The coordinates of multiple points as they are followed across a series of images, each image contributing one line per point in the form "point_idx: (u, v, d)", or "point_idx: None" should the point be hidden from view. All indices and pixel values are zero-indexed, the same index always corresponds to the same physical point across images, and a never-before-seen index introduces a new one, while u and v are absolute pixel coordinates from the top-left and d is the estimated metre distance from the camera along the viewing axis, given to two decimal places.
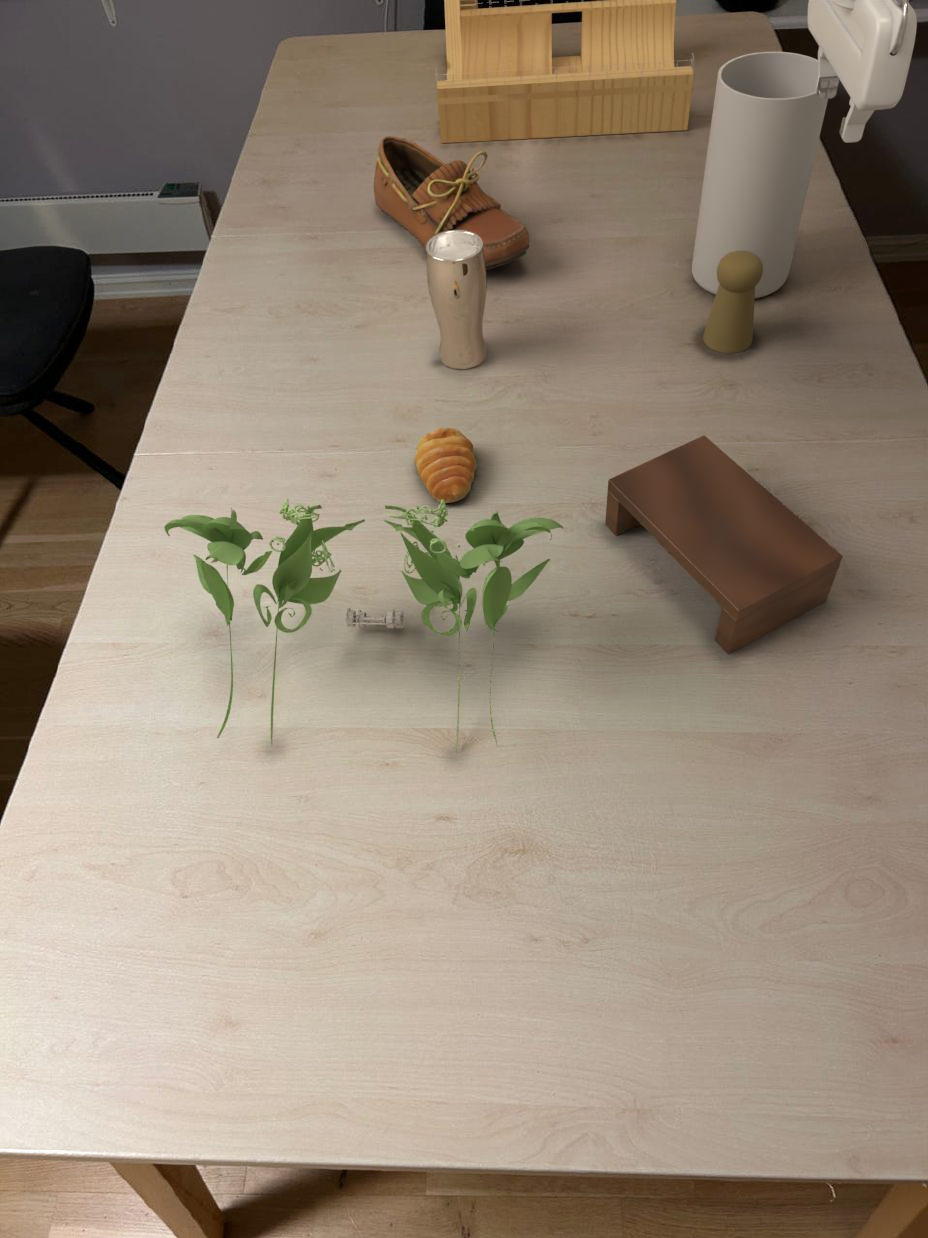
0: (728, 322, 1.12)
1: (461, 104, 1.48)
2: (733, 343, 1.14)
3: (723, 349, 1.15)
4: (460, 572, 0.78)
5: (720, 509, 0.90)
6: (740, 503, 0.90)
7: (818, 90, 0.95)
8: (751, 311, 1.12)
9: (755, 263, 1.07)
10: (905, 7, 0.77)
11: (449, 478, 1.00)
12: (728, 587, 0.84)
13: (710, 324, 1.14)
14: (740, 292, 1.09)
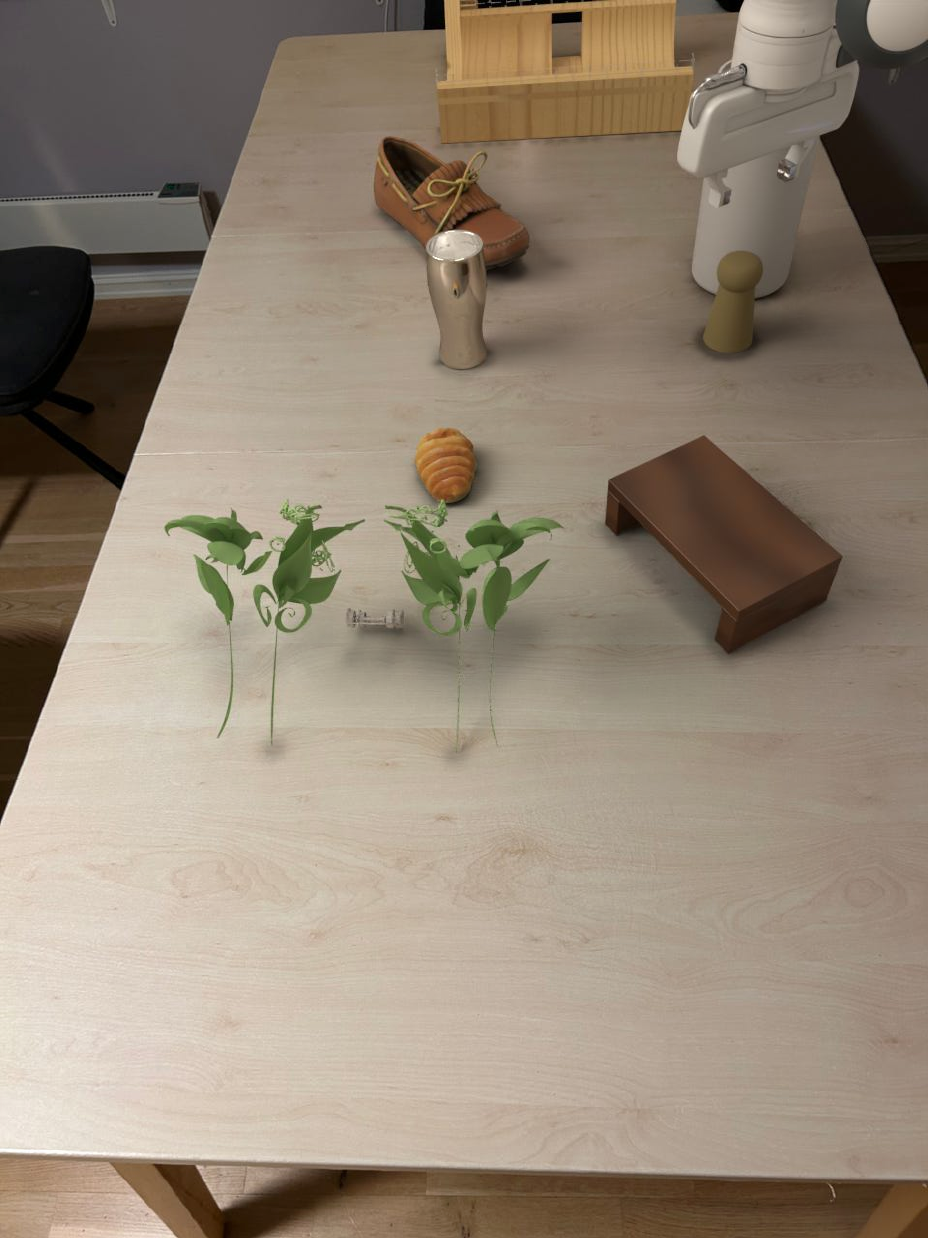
0: (728, 322, 1.12)
1: (461, 104, 1.48)
2: (733, 344, 1.14)
3: (723, 349, 1.15)
4: (460, 572, 0.78)
5: (720, 509, 0.90)
6: (740, 503, 0.90)
7: (779, 169, 1.03)
8: (751, 311, 1.12)
9: (756, 263, 1.07)
10: (697, 88, 0.89)
11: (449, 478, 1.00)
12: (728, 587, 0.84)
13: (710, 324, 1.14)
14: (740, 292, 1.09)
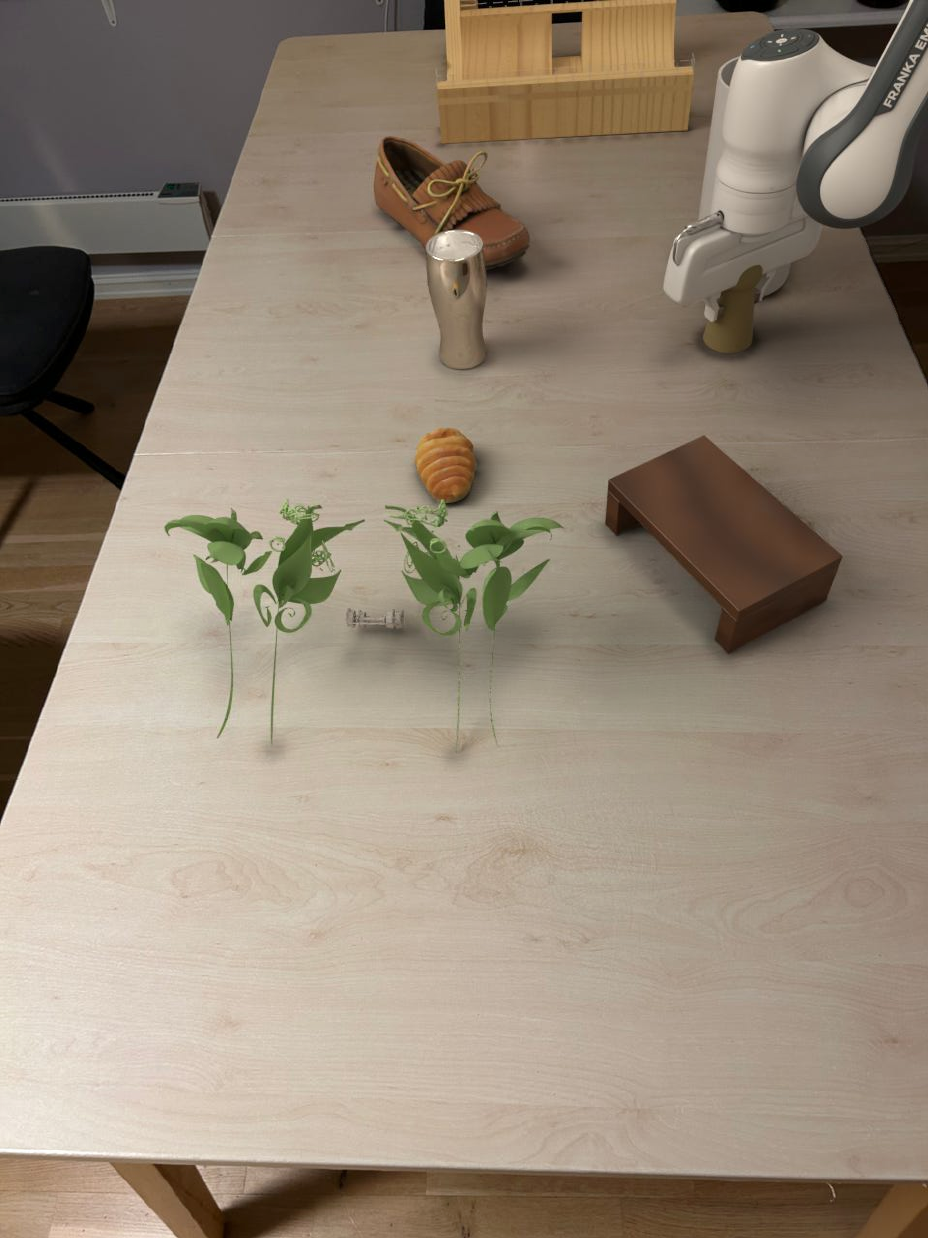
0: (728, 322, 1.12)
1: (461, 104, 1.48)
2: (733, 343, 1.14)
3: (723, 349, 1.15)
4: (460, 572, 0.78)
5: (720, 509, 0.90)
6: (740, 503, 0.90)
7: None
8: (751, 311, 1.12)
9: None
10: (679, 234, 1.01)
11: (449, 478, 1.00)
12: (728, 587, 0.84)
13: (710, 324, 1.14)
14: (740, 292, 1.09)
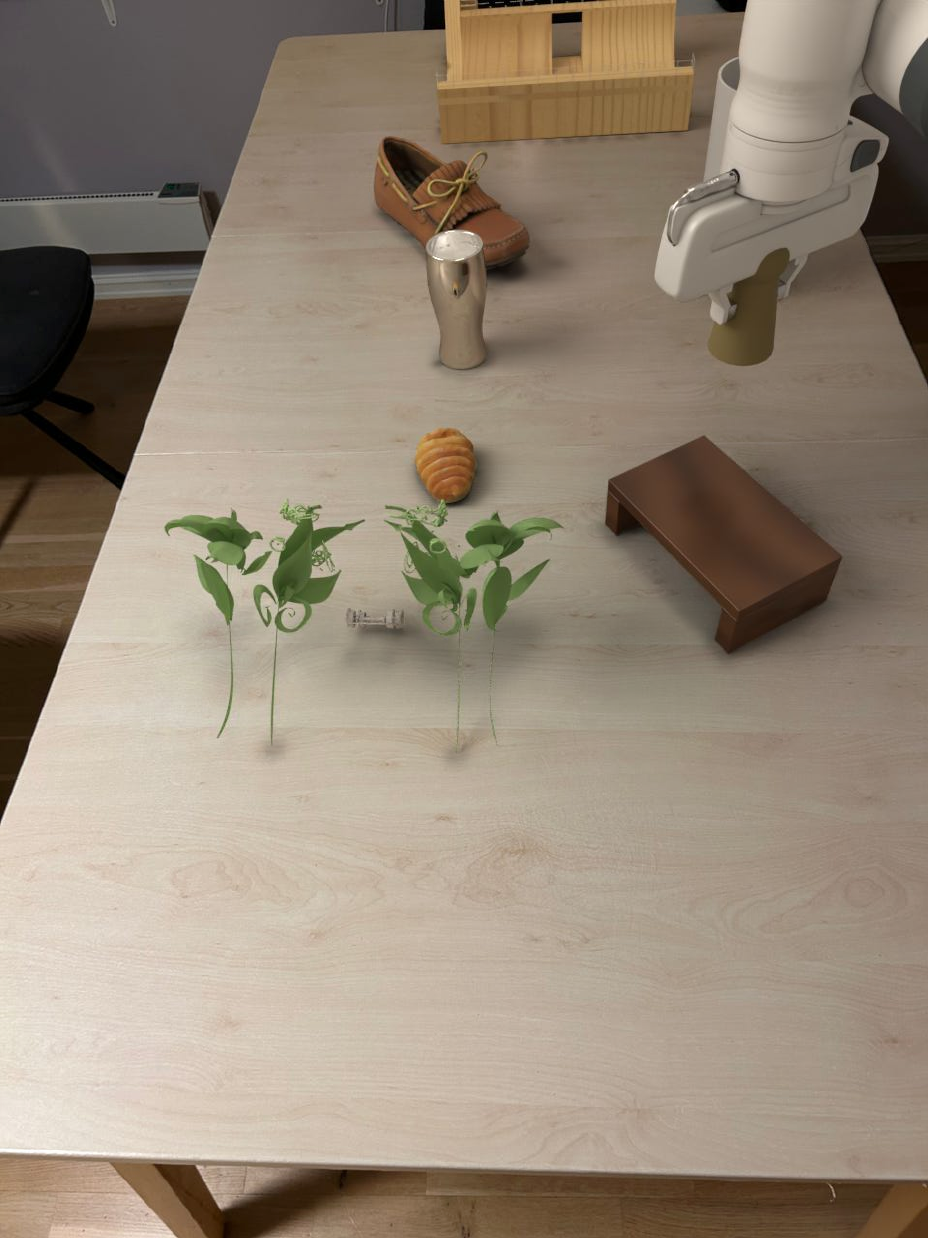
0: (742, 324, 0.83)
1: (461, 104, 1.48)
2: (748, 353, 0.85)
3: (734, 361, 0.86)
4: (460, 572, 0.78)
5: (720, 509, 0.90)
6: (740, 503, 0.90)
7: None
8: (773, 310, 0.83)
9: None
10: (676, 201, 0.72)
11: (449, 478, 1.00)
12: (728, 587, 0.84)
13: (718, 327, 0.85)
14: (759, 284, 0.80)
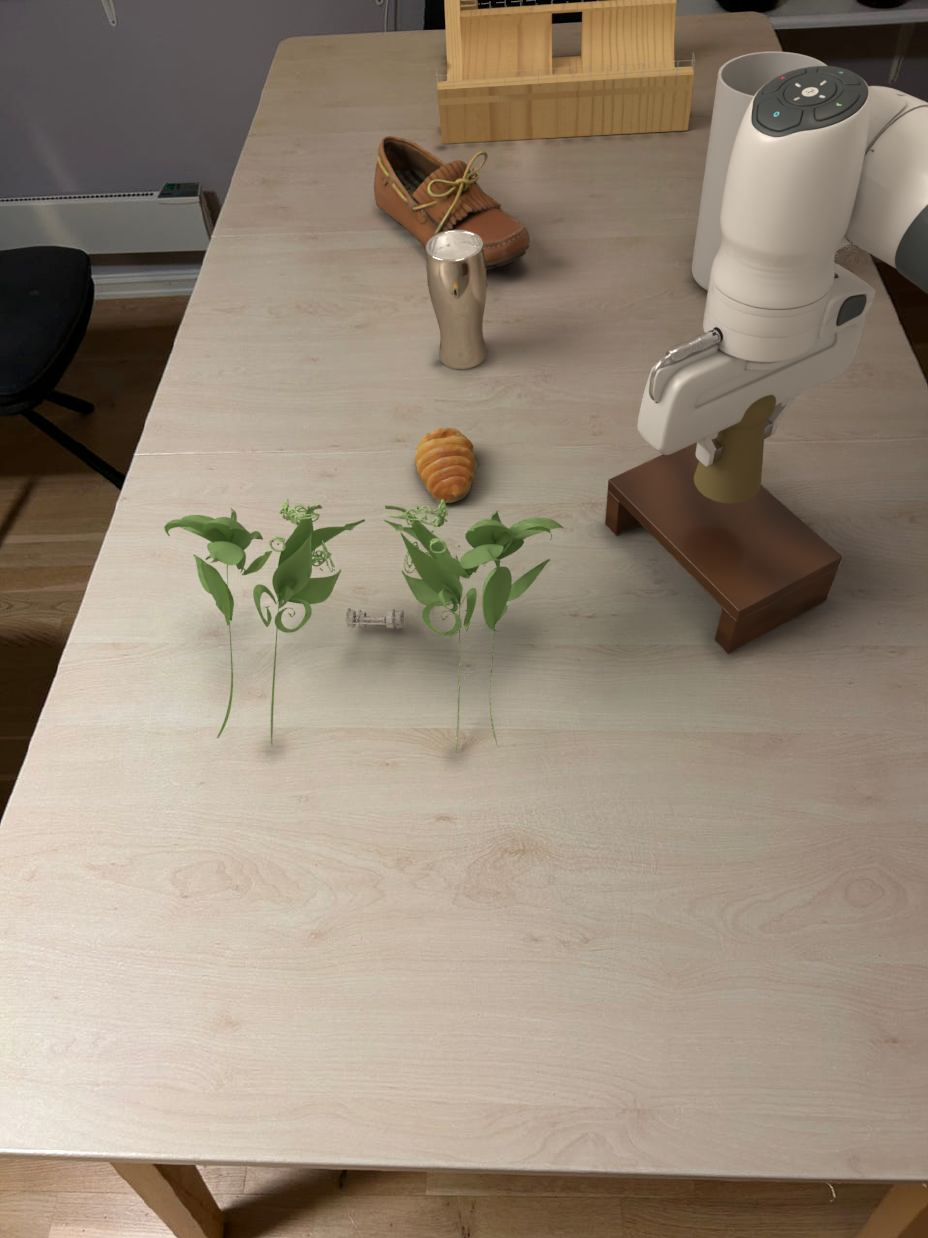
0: (728, 465, 0.81)
1: (461, 104, 1.48)
2: (735, 492, 0.83)
3: (721, 498, 0.84)
4: (460, 572, 0.78)
5: (720, 509, 0.90)
6: (740, 503, 0.90)
7: None
8: (760, 451, 0.81)
9: None
10: (658, 363, 0.70)
11: (449, 478, 1.00)
12: (728, 587, 0.84)
13: (704, 465, 0.83)
14: (745, 429, 0.78)
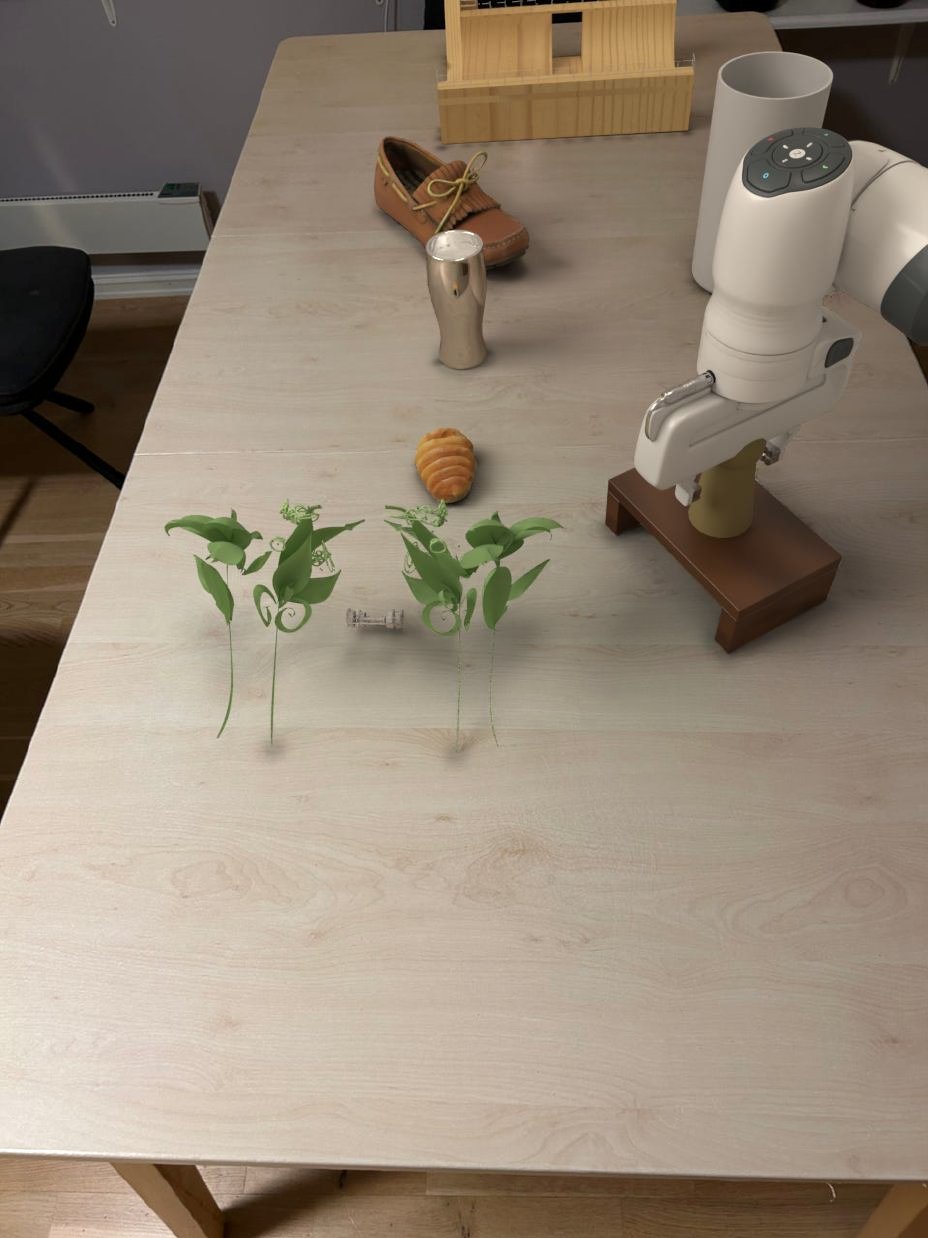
0: (721, 502, 0.85)
1: (462, 104, 1.48)
2: (727, 527, 0.87)
3: (714, 533, 0.87)
4: (460, 572, 0.78)
5: None
6: None
7: None
8: (751, 489, 0.85)
9: None
10: (653, 405, 0.73)
11: (449, 478, 1.00)
12: (728, 587, 0.84)
13: (698, 501, 0.87)
14: (736, 469, 0.82)
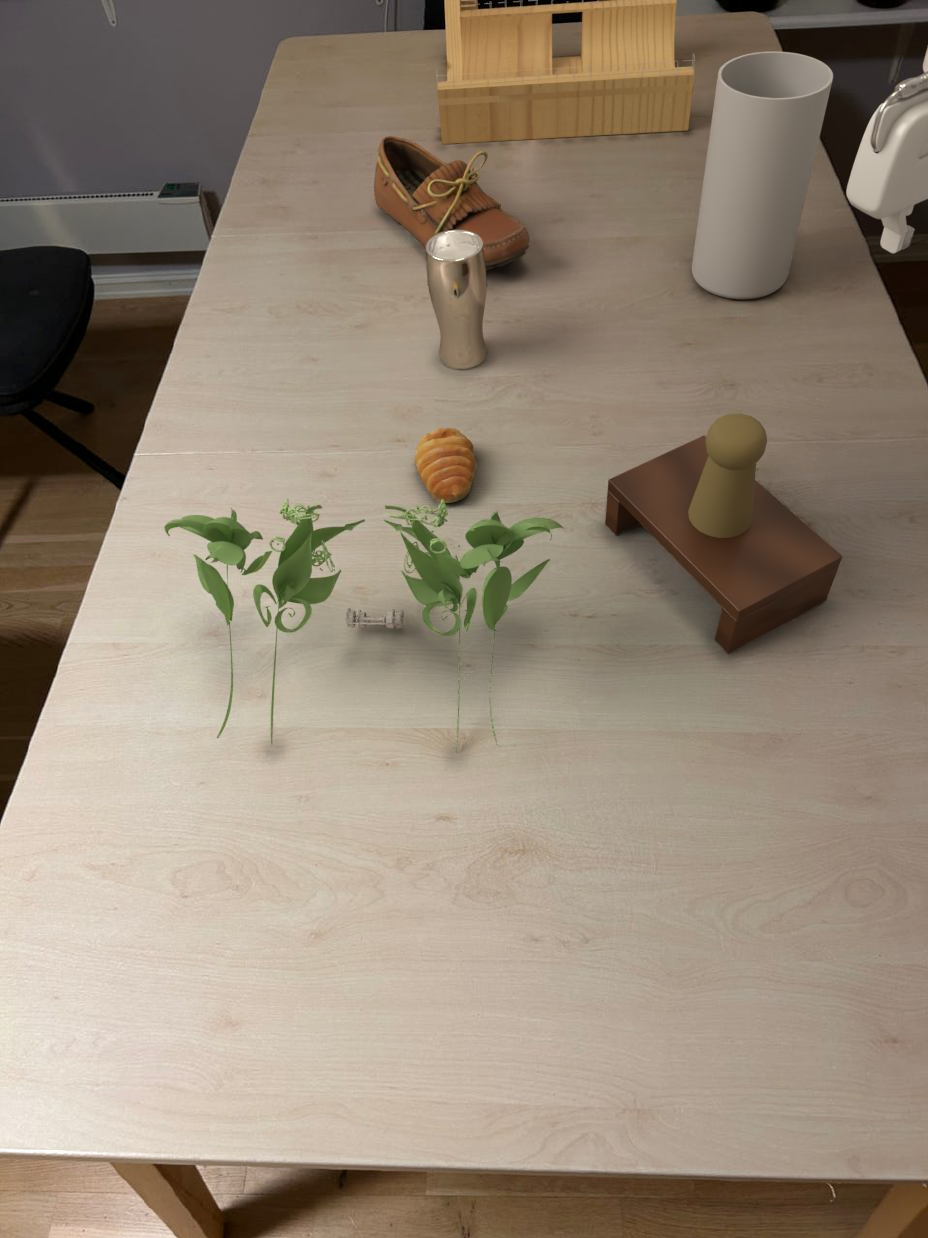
0: (721, 502, 0.85)
1: (462, 104, 1.48)
2: (727, 527, 0.87)
3: (714, 533, 0.87)
4: (460, 572, 0.78)
5: None
6: None
7: None
8: (751, 489, 0.85)
9: (757, 434, 0.80)
10: (886, 99, 0.64)
11: (449, 478, 1.00)
12: (728, 587, 0.84)
13: (698, 501, 0.87)
14: (736, 469, 0.82)
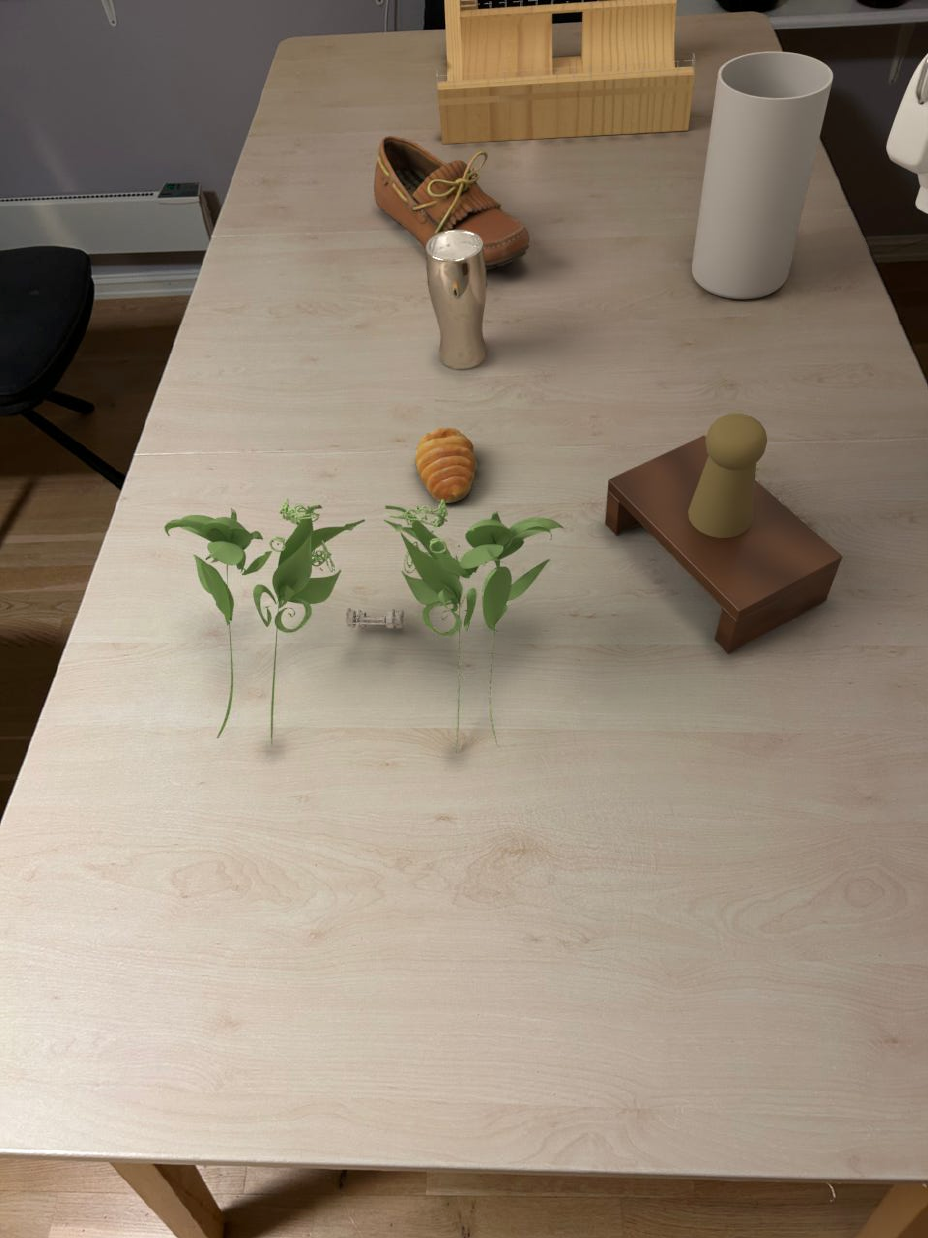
0: (721, 502, 0.85)
1: (462, 104, 1.48)
2: (727, 527, 0.87)
3: (714, 533, 0.87)
4: (460, 572, 0.78)
5: None
6: None
7: None
8: (751, 489, 0.85)
9: (757, 434, 0.80)
10: None
11: (449, 478, 1.00)
12: (728, 587, 0.84)
13: (698, 501, 0.87)
14: (736, 469, 0.82)
